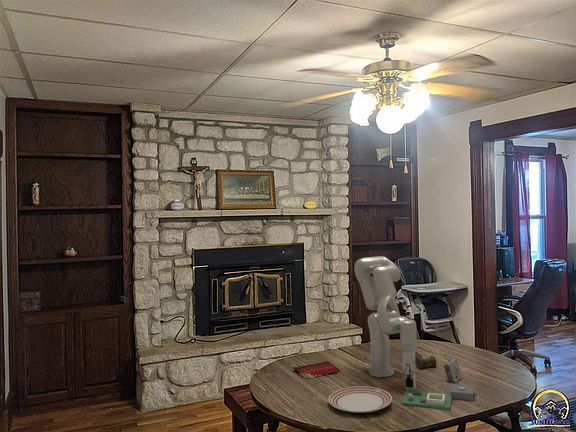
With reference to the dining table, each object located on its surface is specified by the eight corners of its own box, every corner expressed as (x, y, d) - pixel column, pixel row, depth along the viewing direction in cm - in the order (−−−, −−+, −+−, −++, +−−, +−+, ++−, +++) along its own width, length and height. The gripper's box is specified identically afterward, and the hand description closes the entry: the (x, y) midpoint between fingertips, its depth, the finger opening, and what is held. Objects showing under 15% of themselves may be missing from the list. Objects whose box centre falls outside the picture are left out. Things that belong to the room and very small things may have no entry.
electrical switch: (455, 383, 233) (452, 363, 233) (445, 382, 236) (442, 363, 236) (462, 377, 240) (459, 358, 240) (452, 376, 243) (449, 358, 244)
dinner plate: (349, 423, 195) (348, 415, 195) (317, 400, 221) (317, 393, 220) (405, 409, 206) (405, 401, 206) (369, 388, 231) (369, 381, 231)
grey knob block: (450, 398, 215) (450, 390, 215) (452, 391, 223) (451, 383, 223) (472, 400, 211) (472, 392, 211) (473, 393, 220) (473, 385, 220)
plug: (405, 388, 229) (404, 372, 229) (407, 385, 232) (406, 369, 232) (414, 389, 227) (413, 373, 227) (415, 386, 231) (414, 370, 231)
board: (401, 404, 211) (400, 396, 211) (406, 391, 226) (406, 384, 225) (450, 410, 203) (449, 401, 203) (452, 395, 218) (452, 388, 218)
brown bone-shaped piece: (422, 360, 272) (441, 370, 252) (406, 362, 269) (424, 372, 250) (421, 349, 272) (440, 358, 252) (405, 351, 270) (423, 361, 250)
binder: (292, 367, 262) (327, 360, 270) (293, 371, 262) (327, 365, 270) (305, 377, 247) (342, 370, 256) (306, 381, 247) (342, 374, 256)
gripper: (403, 341, 239) (405, 377, 239) (397, 351, 223) (399, 390, 223) (419, 342, 236) (421, 379, 236) (414, 352, 220) (416, 392, 220)
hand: (410, 384), depth 230 cm, fingers open, 6 cm apart
